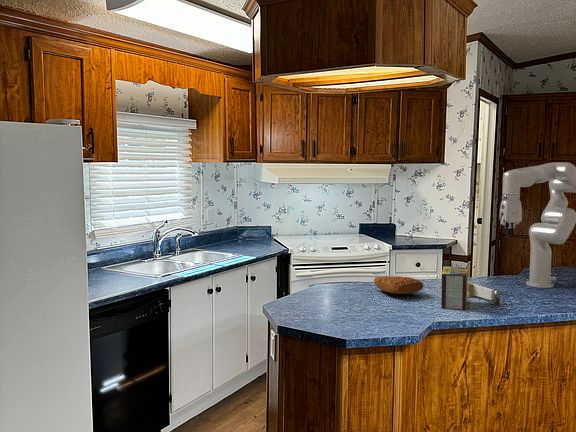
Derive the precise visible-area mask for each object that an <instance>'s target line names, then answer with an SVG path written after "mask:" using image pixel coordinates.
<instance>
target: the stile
mask: <svg viewBox="0 0 576 432" xmlns="http://www.w3.org/2000/svg"><path fill="white" fill-rule="evenodd" d="M473 296H474V295H473V284H470V283H467V298H473Z"/></svg>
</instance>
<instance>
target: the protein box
mask: <svg viewBox="0 0 576 432" xmlns="http://www.w3.org/2000/svg"><path fill="white" fill-rule="evenodd" d="M467 282H468V267H459V266H458V267H457V266H443V268H442V272H441V301H440V303H441V305H440V306H441V307H440V309H444V310H445V309H446V310H457V311H458V310H459V311H467V300H468V299H467V298H468V297H467Z"/></svg>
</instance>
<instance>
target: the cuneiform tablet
mask: <svg viewBox="0 0 576 432" xmlns="http://www.w3.org/2000/svg"><path fill="white" fill-rule="evenodd" d="M373 281H374V284H375V286H376V288H378V289H380V290H382V291H383V292H385V293H389V294H393V295H395V294H396V295H407V294H413V293H416V292H419V291H421V290H423V288H424V283H423V282H422V281H421V280H419V279H416V278H413V277H410V276H396V275H395V276H391V275H385V276H376V277H375V278H373Z"/></svg>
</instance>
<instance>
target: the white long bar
mask: <svg viewBox="0 0 576 432" xmlns="http://www.w3.org/2000/svg"><path fill="white" fill-rule="evenodd" d="M494 290H495V289H493V288H492V289H491V288H489V287H484V286H481V285H477V284H475V283H474V284H473V296H475V297H476V296H477V297H478V298H483V299H484V300H485V299H486V300H488V301H494Z"/></svg>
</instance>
